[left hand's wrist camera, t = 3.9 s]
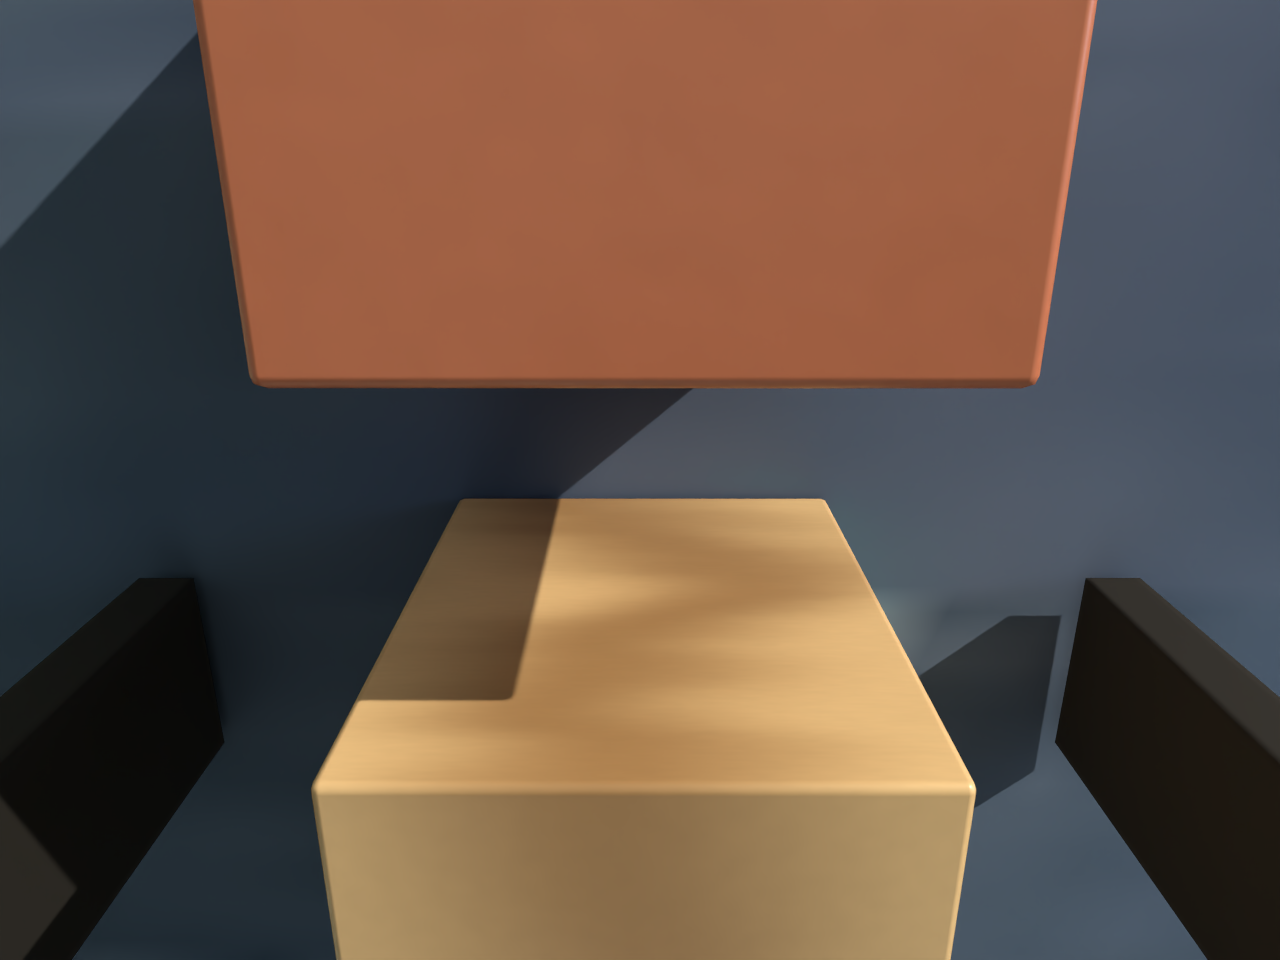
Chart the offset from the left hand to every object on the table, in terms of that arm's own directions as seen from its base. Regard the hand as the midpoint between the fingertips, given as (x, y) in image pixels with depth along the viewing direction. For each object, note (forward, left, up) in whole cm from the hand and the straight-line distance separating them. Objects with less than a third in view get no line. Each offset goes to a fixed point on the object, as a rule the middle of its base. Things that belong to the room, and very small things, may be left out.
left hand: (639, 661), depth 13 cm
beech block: (0, 0, 0) cm, 0 cm away
